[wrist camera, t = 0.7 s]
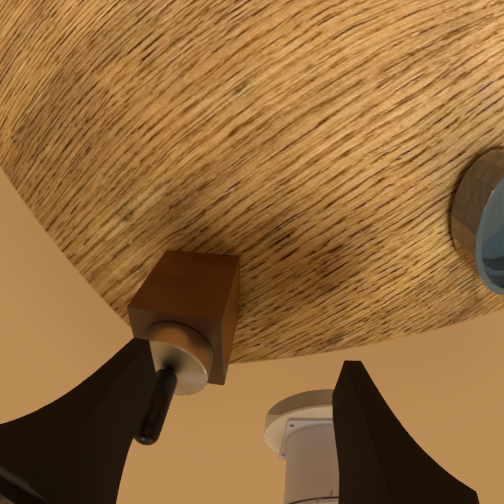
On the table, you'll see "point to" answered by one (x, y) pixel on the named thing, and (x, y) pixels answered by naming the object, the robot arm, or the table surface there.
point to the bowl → (482, 219)
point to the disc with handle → (173, 372)
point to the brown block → (192, 301)
